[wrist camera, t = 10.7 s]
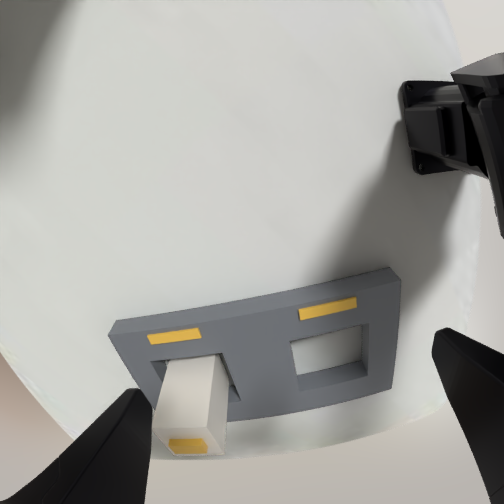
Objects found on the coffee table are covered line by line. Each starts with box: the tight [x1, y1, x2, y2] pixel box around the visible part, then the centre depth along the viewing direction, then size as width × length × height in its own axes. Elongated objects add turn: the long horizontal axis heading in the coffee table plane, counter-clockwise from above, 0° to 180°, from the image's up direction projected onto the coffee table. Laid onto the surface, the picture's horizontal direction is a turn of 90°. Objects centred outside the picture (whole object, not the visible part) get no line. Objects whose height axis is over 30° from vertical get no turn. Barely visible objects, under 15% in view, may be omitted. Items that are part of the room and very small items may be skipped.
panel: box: [108, 267, 401, 422], centre depth 23 cm, size 22×12×2 cm, turn 103°
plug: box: [152, 353, 229, 456], centre depth 21 cm, size 4×4×9 cm
